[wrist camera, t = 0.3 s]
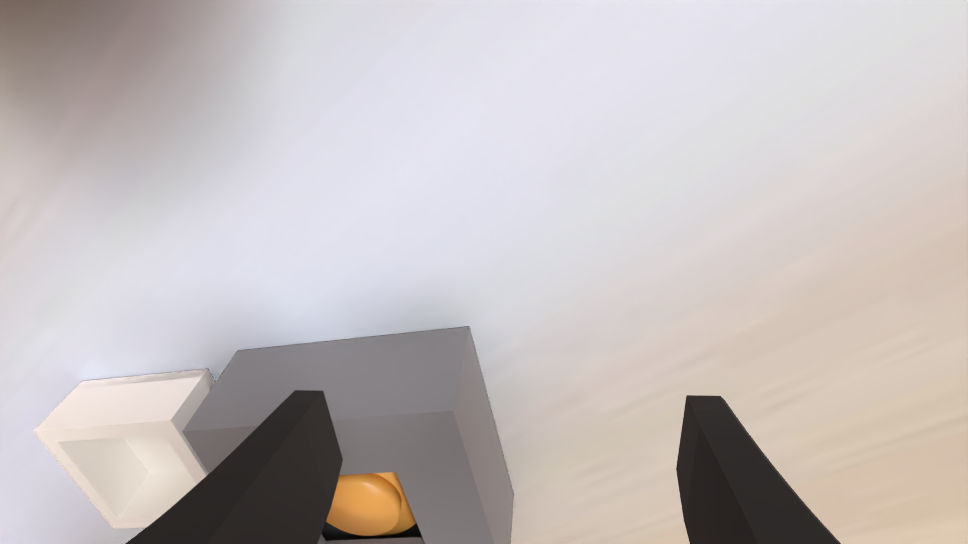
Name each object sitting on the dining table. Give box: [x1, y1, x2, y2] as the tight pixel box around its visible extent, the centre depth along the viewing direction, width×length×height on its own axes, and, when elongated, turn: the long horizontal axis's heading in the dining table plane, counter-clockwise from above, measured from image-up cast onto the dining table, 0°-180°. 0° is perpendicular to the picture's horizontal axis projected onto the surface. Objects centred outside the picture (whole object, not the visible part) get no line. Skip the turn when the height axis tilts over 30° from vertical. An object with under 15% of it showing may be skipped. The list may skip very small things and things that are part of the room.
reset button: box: [326, 472, 417, 536], centre depth 24 cm, size 5×5×1 cm
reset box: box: [182, 327, 514, 544], centre depth 25 cm, size 10×10×4 cm
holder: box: [33, 369, 216, 529], centre depth 27 cm, size 6×6×3 cm
